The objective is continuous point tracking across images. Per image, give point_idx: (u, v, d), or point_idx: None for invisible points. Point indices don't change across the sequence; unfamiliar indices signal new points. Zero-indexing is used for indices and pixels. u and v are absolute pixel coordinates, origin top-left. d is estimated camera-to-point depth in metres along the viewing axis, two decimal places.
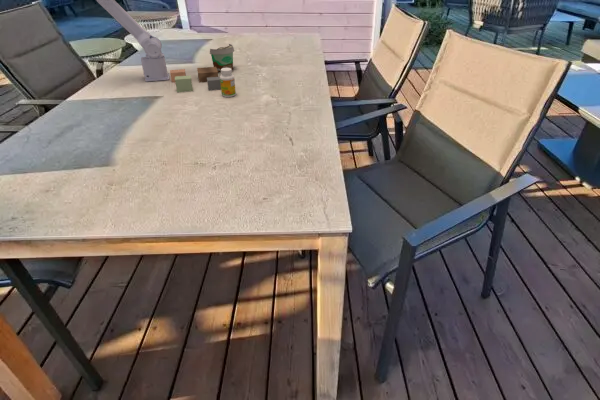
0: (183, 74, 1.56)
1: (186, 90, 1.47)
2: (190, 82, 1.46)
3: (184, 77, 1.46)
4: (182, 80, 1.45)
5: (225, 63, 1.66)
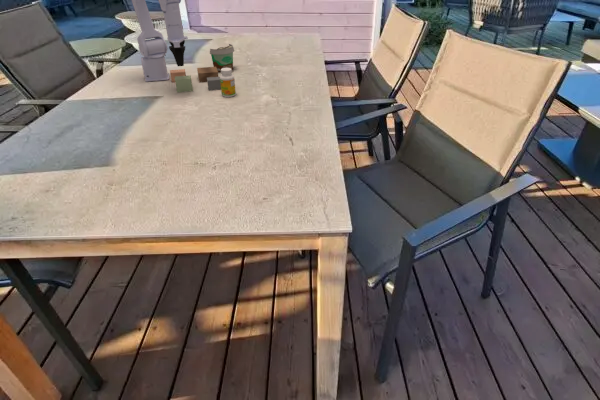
0: (183, 74, 1.56)
1: (186, 90, 1.47)
2: (190, 82, 1.46)
3: (184, 77, 1.46)
4: (182, 80, 1.45)
5: (225, 63, 1.66)
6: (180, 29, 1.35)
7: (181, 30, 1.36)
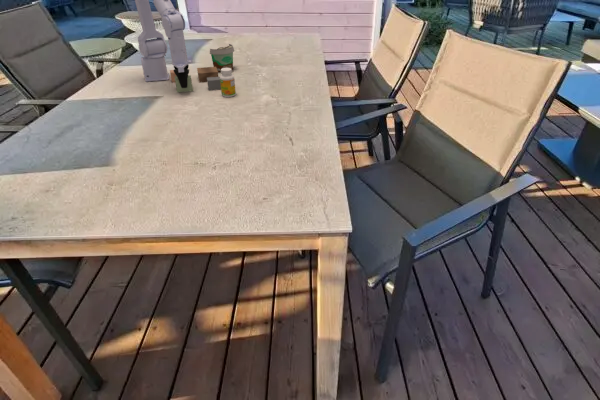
0: None
1: (186, 90, 1.47)
2: (190, 82, 1.46)
3: None
4: None
5: (225, 63, 1.66)
6: (184, 54, 1.40)
7: (185, 55, 1.41)
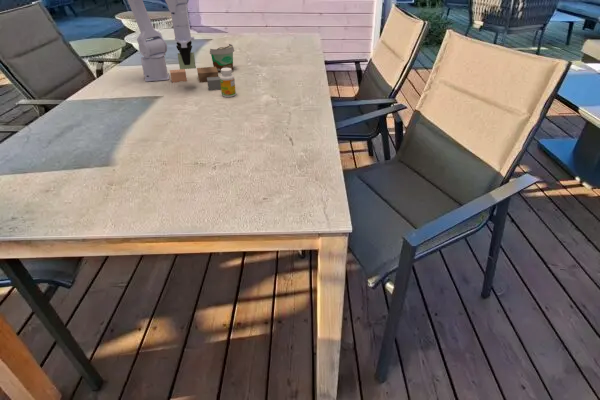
0: (183, 74, 1.56)
1: (189, 67, 1.46)
2: (193, 59, 1.44)
3: None
4: None
5: (225, 63, 1.66)
6: (187, 30, 1.38)
7: (188, 31, 1.39)
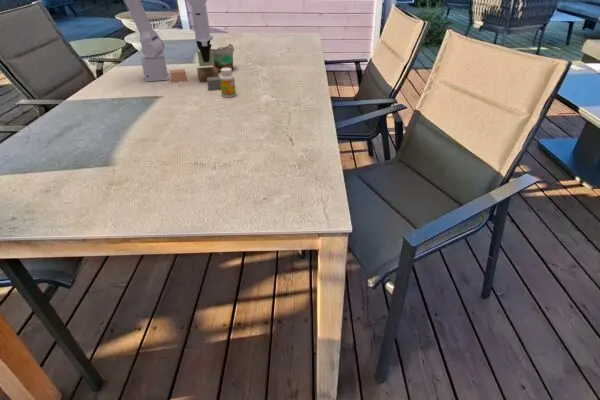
0: (183, 74, 1.56)
1: (208, 64, 1.56)
2: (212, 56, 1.54)
3: None
4: None
5: (225, 63, 1.66)
6: (207, 29, 1.48)
7: (208, 31, 1.49)
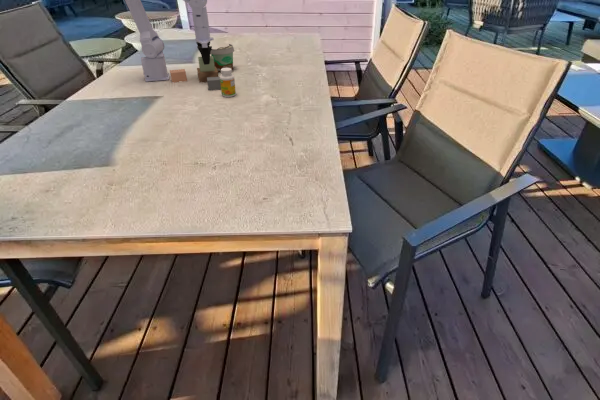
0: (183, 74, 1.56)
1: (209, 69, 1.57)
2: (212, 62, 1.56)
3: None
4: None
5: (225, 63, 1.66)
6: (207, 31, 1.49)
7: (208, 32, 1.49)
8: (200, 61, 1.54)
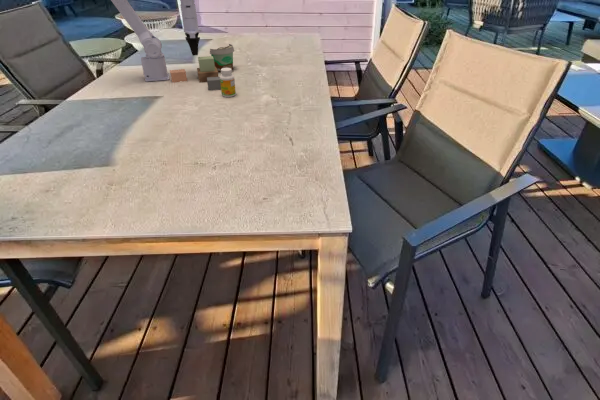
0: (184, 74, 1.56)
1: (209, 70, 1.57)
2: (213, 62, 1.55)
3: (207, 57, 1.55)
4: (206, 60, 1.54)
5: (225, 63, 1.66)
6: (195, 22, 1.51)
7: (196, 23, 1.52)
8: (200, 61, 1.54)
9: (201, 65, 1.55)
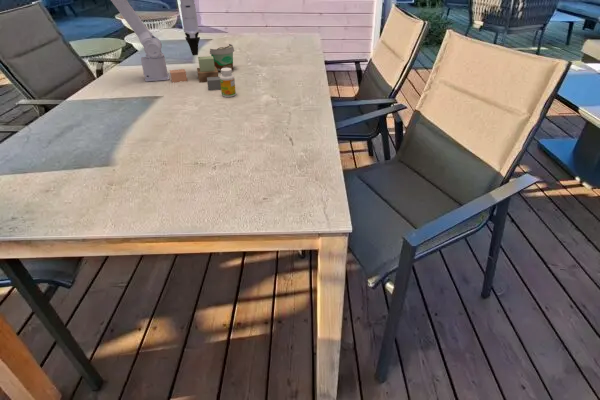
0: (184, 74, 1.56)
1: (209, 70, 1.57)
2: (212, 62, 1.55)
3: (207, 57, 1.55)
4: (205, 60, 1.54)
5: (225, 63, 1.66)
6: (195, 22, 1.51)
7: (196, 23, 1.52)
8: (200, 61, 1.54)
9: (201, 65, 1.55)
